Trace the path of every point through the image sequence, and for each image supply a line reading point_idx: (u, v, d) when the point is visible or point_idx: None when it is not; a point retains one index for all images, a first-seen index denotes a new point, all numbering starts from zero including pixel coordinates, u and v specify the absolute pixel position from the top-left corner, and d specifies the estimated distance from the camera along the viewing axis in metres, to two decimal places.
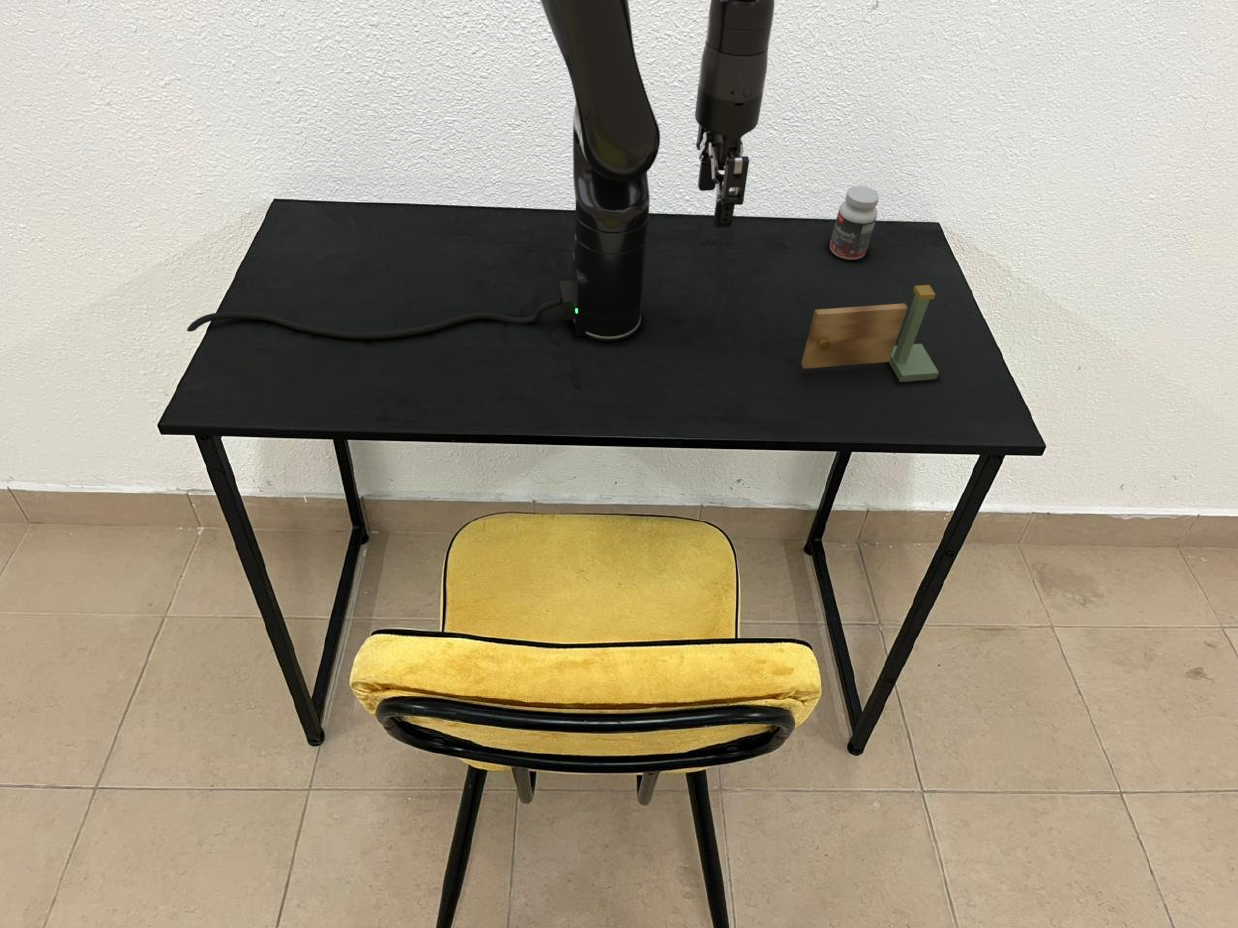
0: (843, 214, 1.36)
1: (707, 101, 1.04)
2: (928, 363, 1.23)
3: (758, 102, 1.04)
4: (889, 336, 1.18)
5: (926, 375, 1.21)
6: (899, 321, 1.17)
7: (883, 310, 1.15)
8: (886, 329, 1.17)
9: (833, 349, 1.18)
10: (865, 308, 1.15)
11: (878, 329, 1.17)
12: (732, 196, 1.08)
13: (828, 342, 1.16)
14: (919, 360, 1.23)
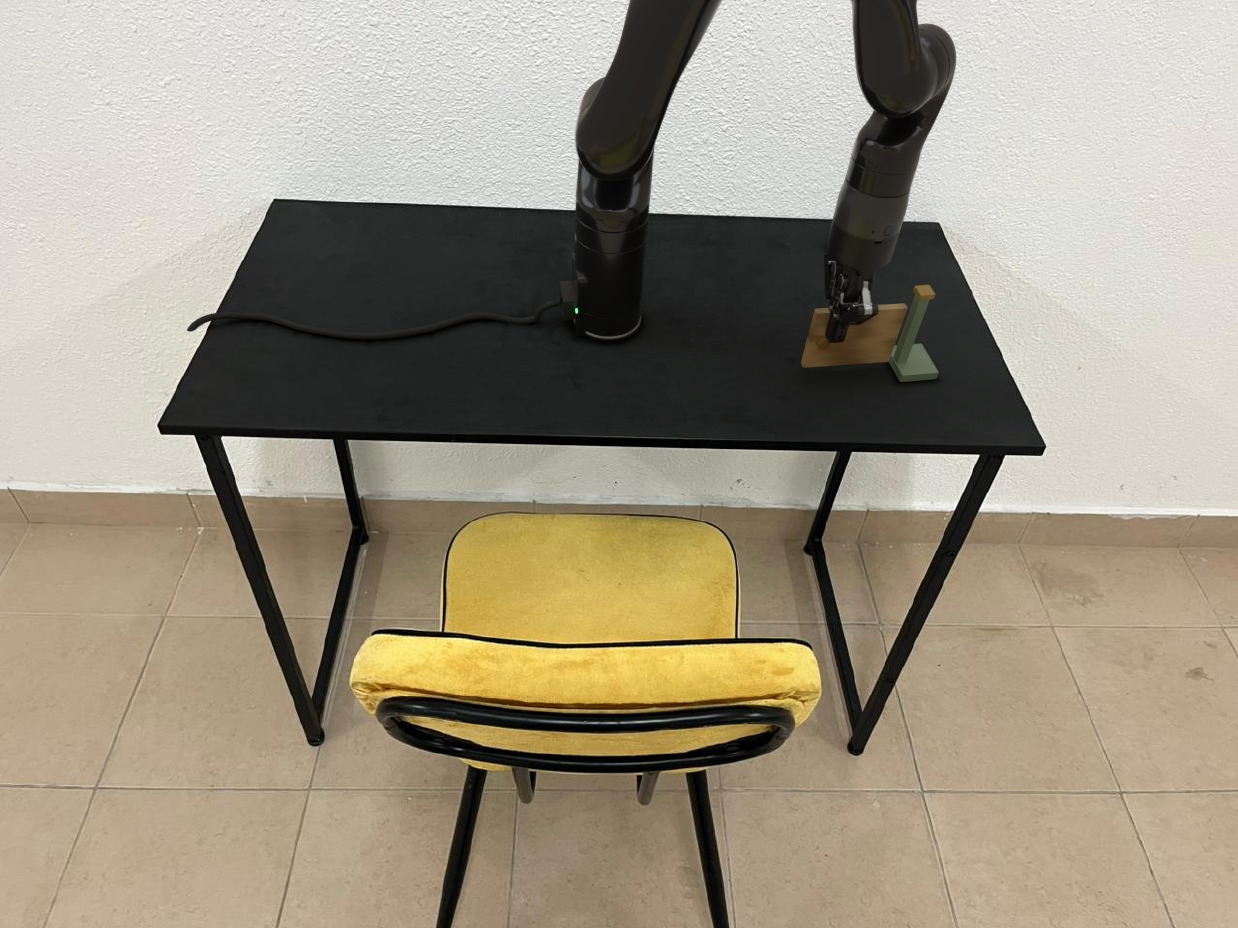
0: None
1: (844, 238, 1.01)
2: (928, 363, 1.23)
3: (896, 238, 1.01)
4: (889, 336, 1.18)
5: (926, 375, 1.21)
6: (899, 321, 1.17)
7: (883, 310, 1.15)
8: (886, 329, 1.17)
9: (833, 348, 1.18)
10: None
11: (878, 328, 1.17)
12: None
13: (827, 341, 1.16)
14: (919, 360, 1.23)
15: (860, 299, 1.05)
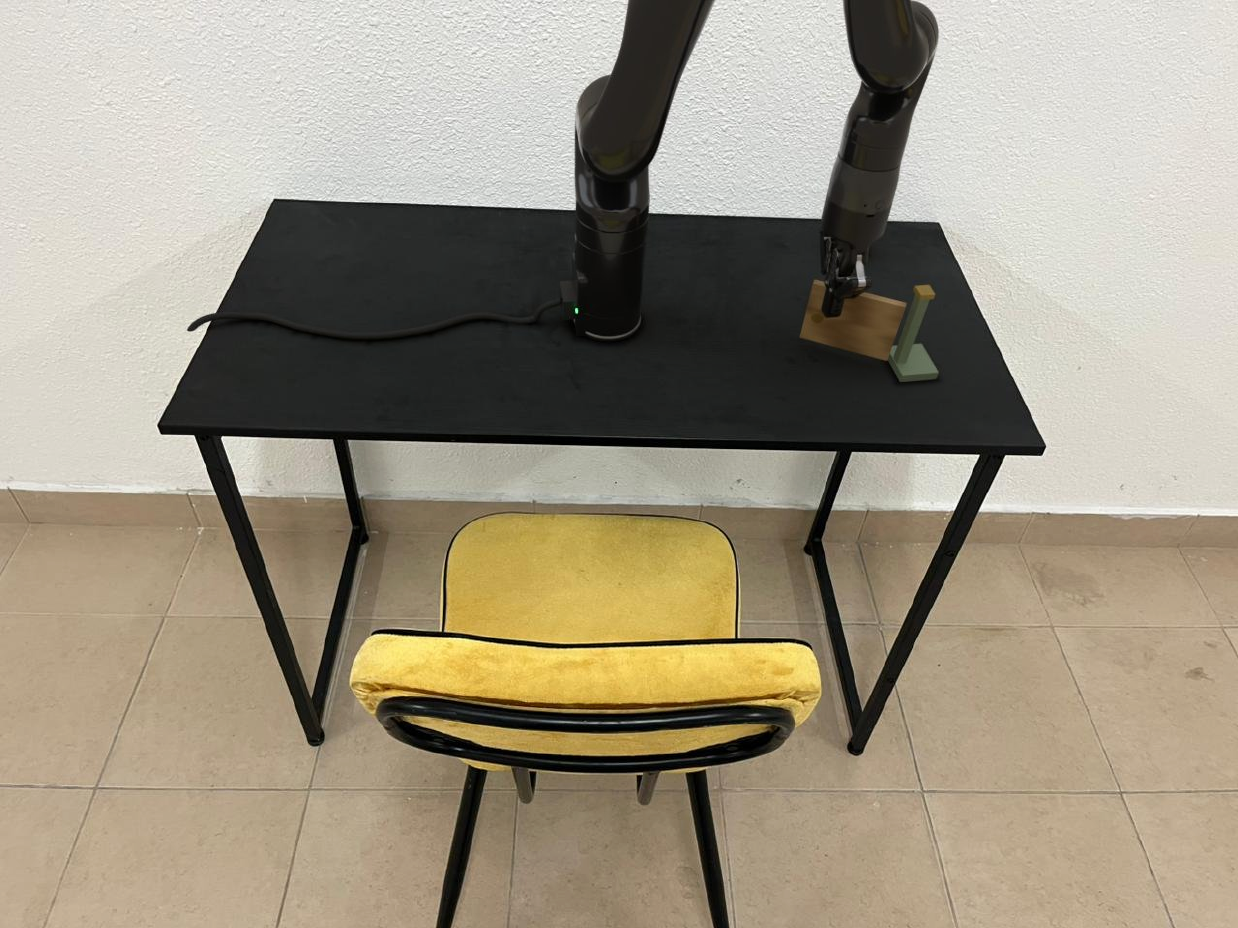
0: None
1: (837, 212, 1.04)
2: (928, 363, 1.23)
3: (888, 212, 1.04)
4: (886, 332, 1.19)
5: (926, 375, 1.21)
6: (897, 319, 1.17)
7: (879, 301, 1.16)
8: (883, 323, 1.18)
9: (829, 326, 1.21)
10: (863, 294, 1.17)
11: (875, 320, 1.18)
12: None
13: (820, 315, 1.20)
14: (919, 360, 1.23)
15: (854, 272, 1.08)
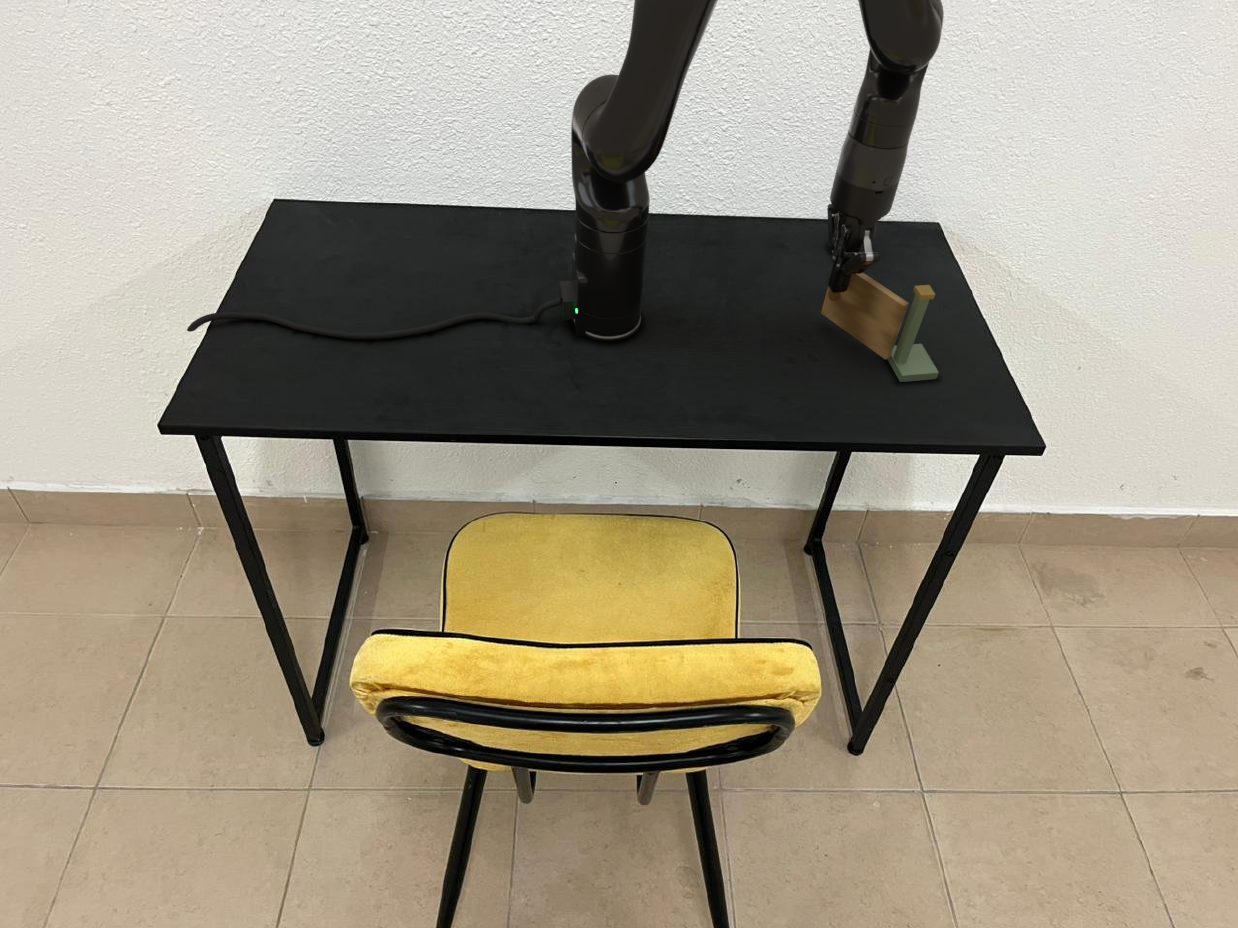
0: None
1: (847, 188, 1.08)
2: (928, 363, 1.23)
3: (895, 189, 1.08)
4: (887, 329, 1.19)
5: (926, 375, 1.21)
6: (896, 317, 1.17)
7: (884, 293, 1.17)
8: (885, 318, 1.19)
9: (843, 308, 1.24)
10: (873, 283, 1.19)
11: (879, 313, 1.19)
12: None
13: (834, 293, 1.23)
14: (919, 360, 1.23)
15: (862, 247, 1.12)
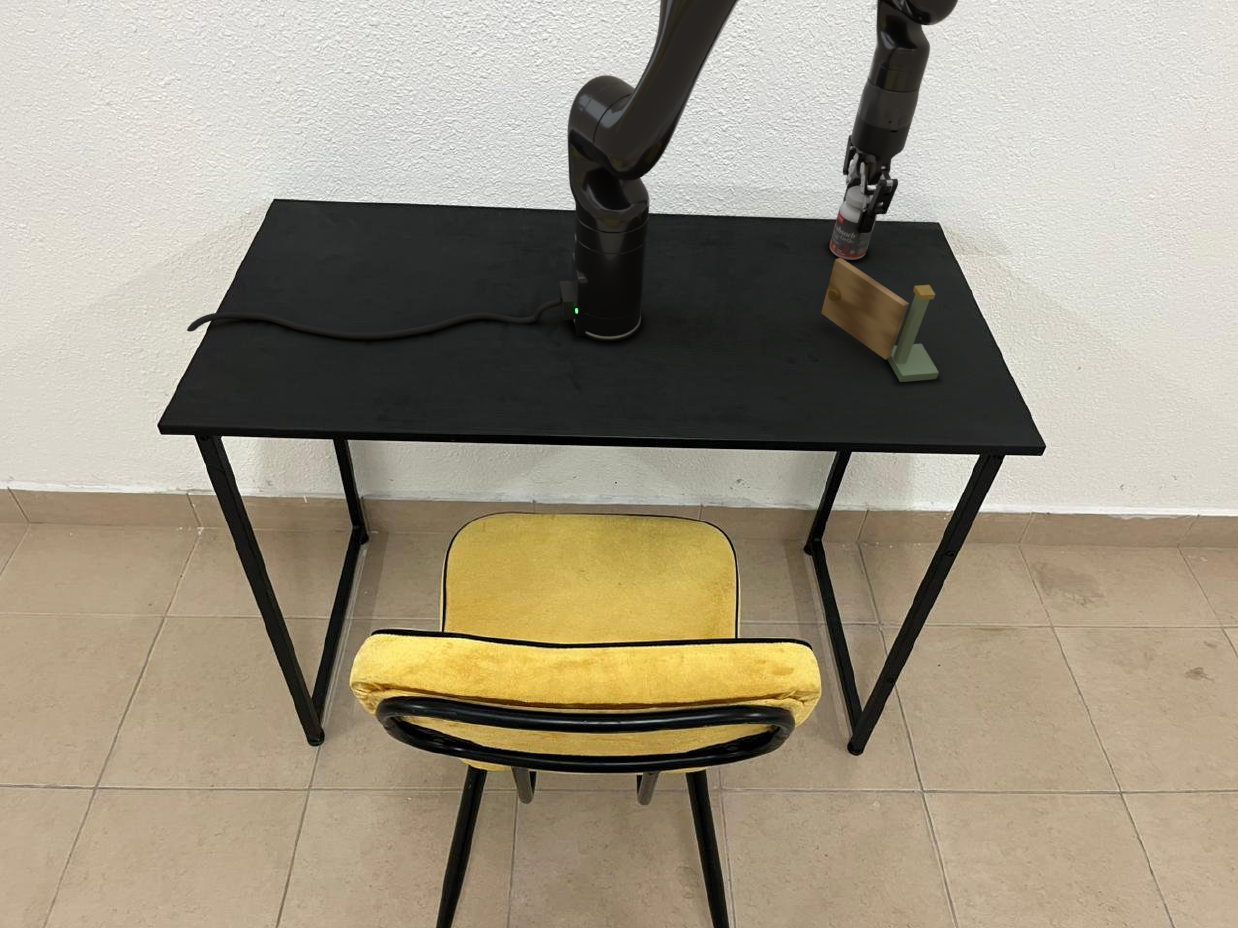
0: (843, 214, 1.36)
1: (866, 128, 1.24)
2: (928, 363, 1.23)
3: (908, 129, 1.25)
4: (887, 329, 1.19)
5: (926, 375, 1.21)
6: (896, 317, 1.17)
7: (884, 293, 1.17)
8: (885, 318, 1.19)
9: (843, 308, 1.24)
10: (874, 282, 1.19)
11: (879, 313, 1.19)
12: (878, 207, 1.30)
13: (835, 293, 1.23)
14: (919, 360, 1.23)
15: None
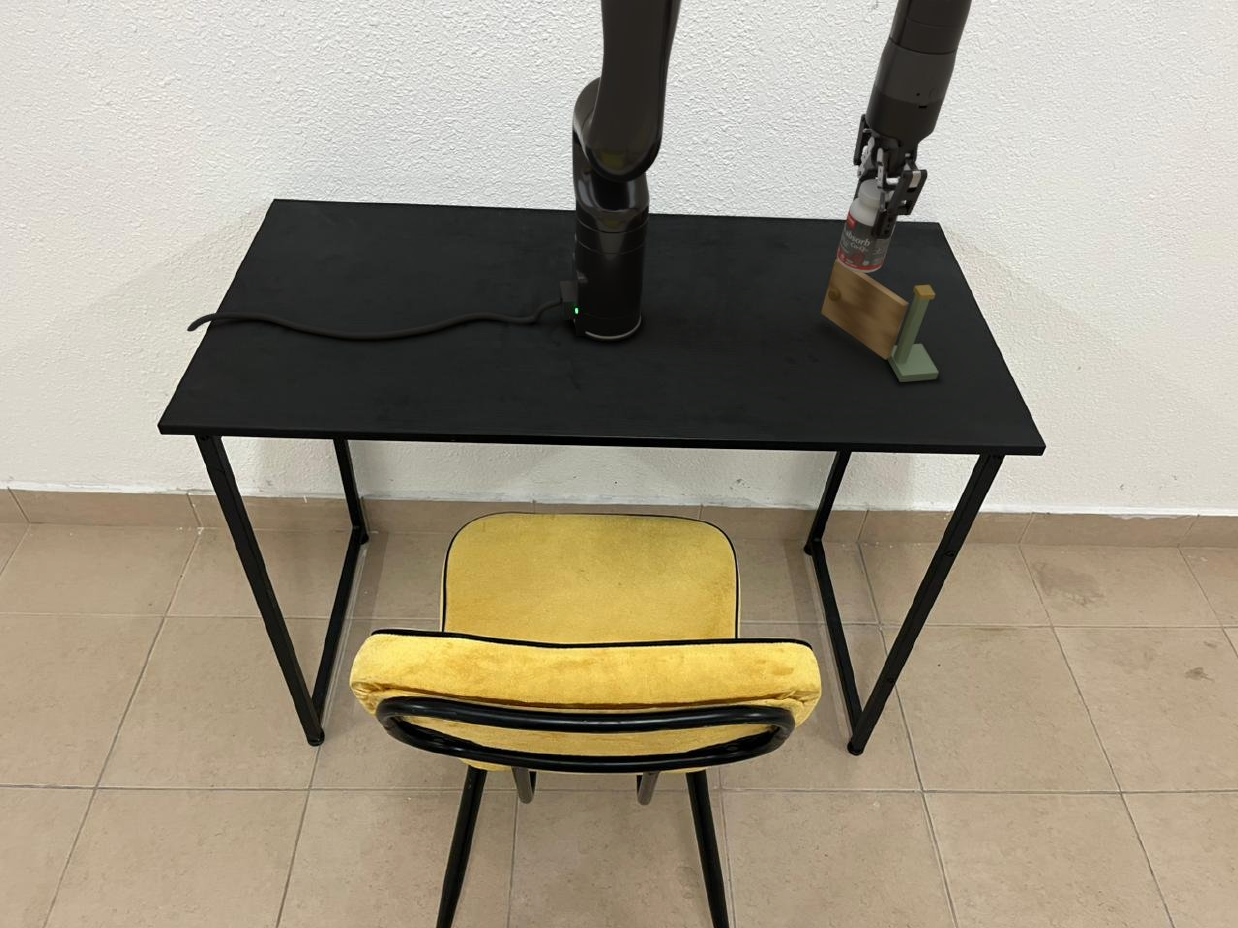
0: (854, 215, 1.06)
1: (886, 103, 0.95)
2: (928, 363, 1.23)
3: (941, 104, 0.96)
4: (887, 329, 1.19)
5: (926, 375, 1.21)
6: (896, 317, 1.17)
7: (884, 293, 1.17)
8: (885, 318, 1.19)
9: (843, 308, 1.24)
10: (874, 282, 1.19)
11: (879, 313, 1.19)
12: (900, 206, 1.01)
13: (835, 293, 1.23)
14: (919, 360, 1.23)
15: None
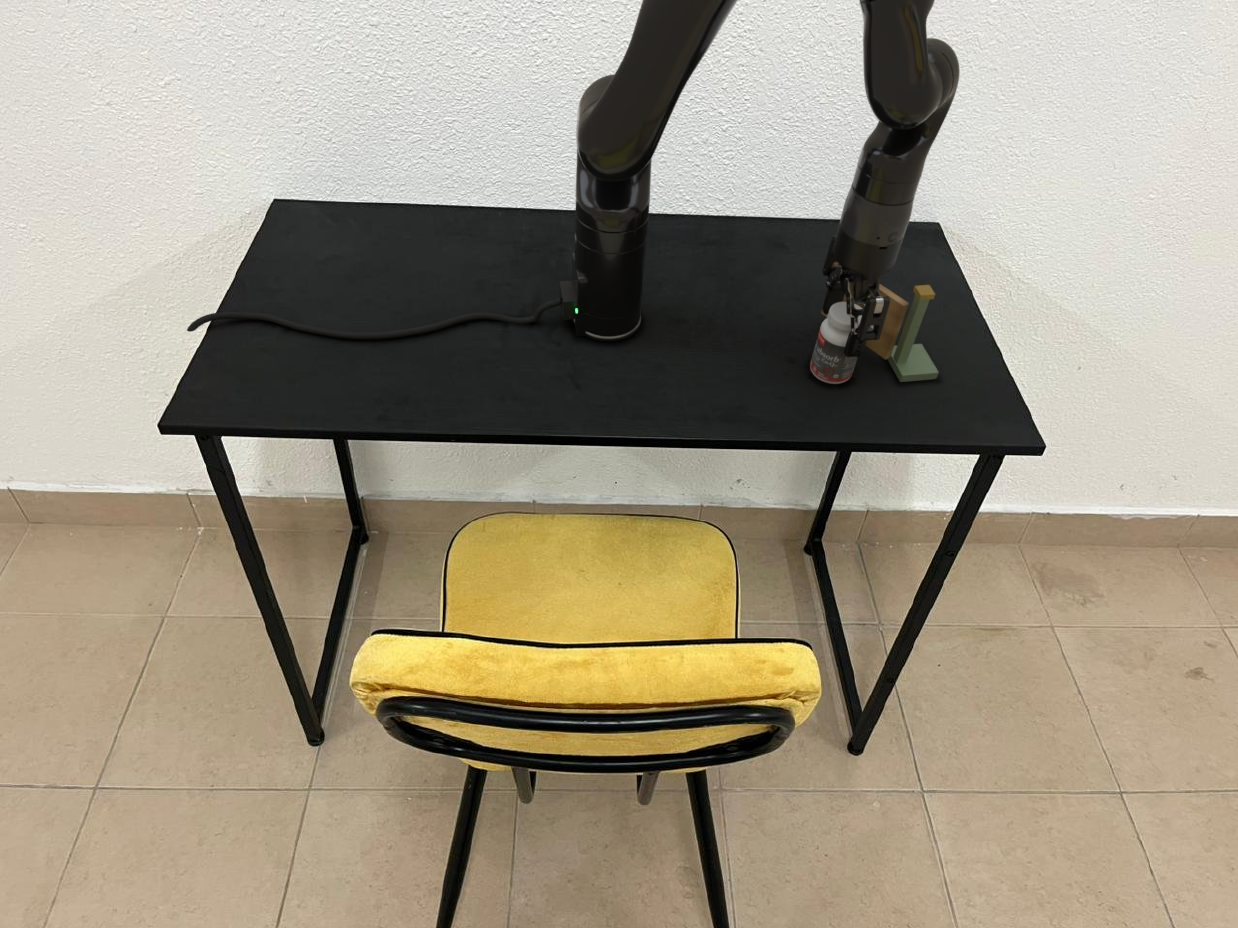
0: (824, 335, 1.16)
1: (850, 243, 1.04)
2: (928, 363, 1.23)
3: (900, 244, 1.05)
4: (887, 329, 1.19)
5: (926, 375, 1.21)
6: (896, 317, 1.17)
7: (884, 293, 1.17)
8: (885, 318, 1.19)
9: None
10: None
11: None
12: (869, 332, 1.09)
13: None
14: (919, 360, 1.23)
15: None
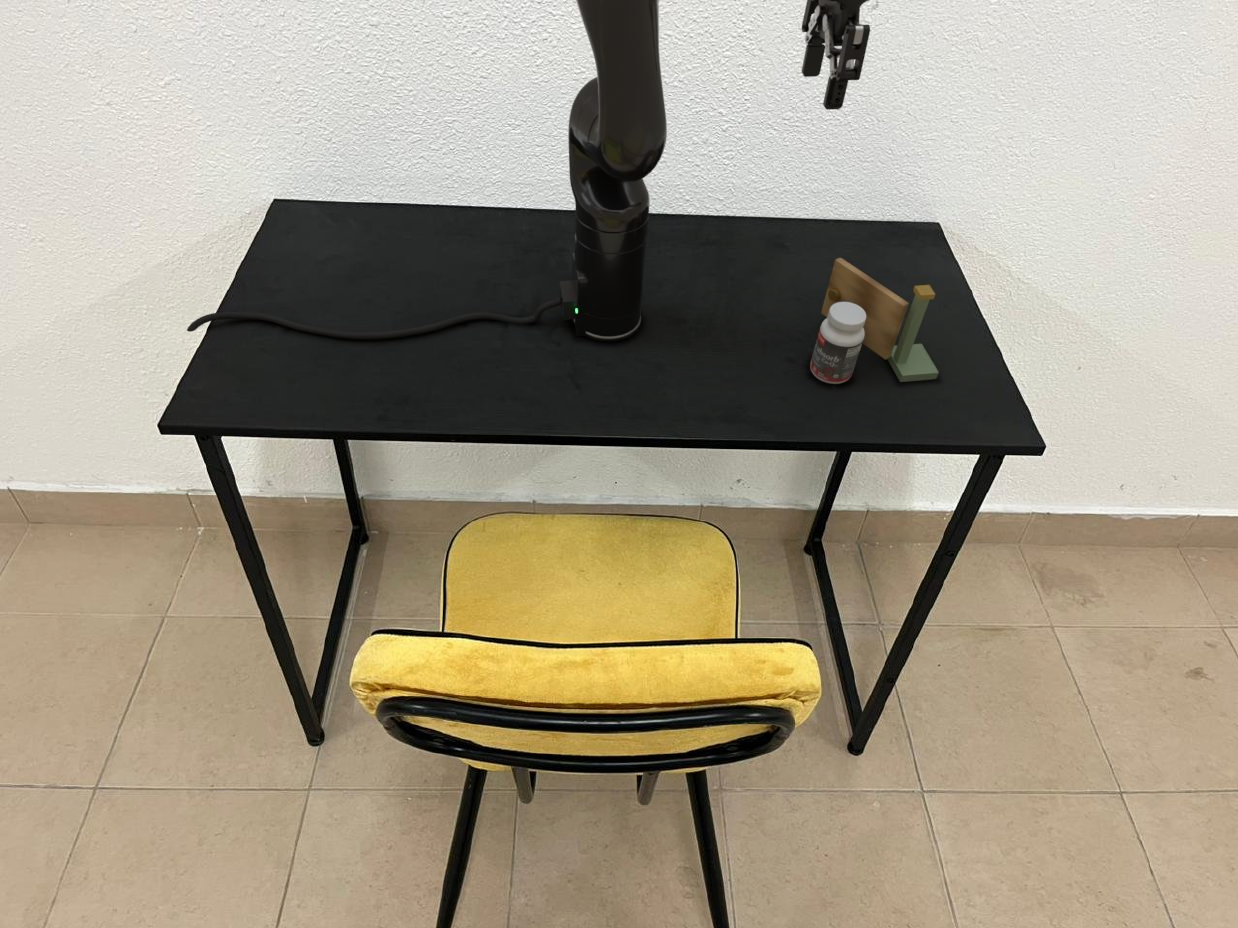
0: (824, 335, 1.16)
1: None
2: (928, 363, 1.23)
3: None
4: (887, 329, 1.19)
5: (926, 375, 1.21)
6: (896, 317, 1.17)
7: (884, 293, 1.17)
8: (885, 318, 1.19)
9: None
10: (874, 282, 1.19)
11: (879, 313, 1.19)
12: (848, 70, 1.03)
13: (835, 293, 1.23)
14: (919, 360, 1.23)
15: None
